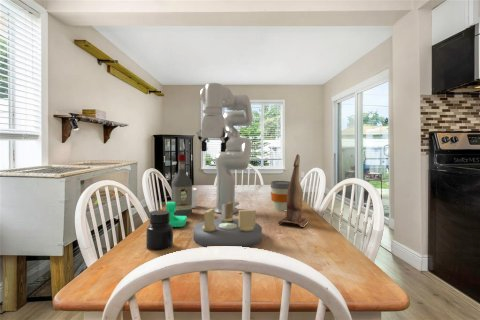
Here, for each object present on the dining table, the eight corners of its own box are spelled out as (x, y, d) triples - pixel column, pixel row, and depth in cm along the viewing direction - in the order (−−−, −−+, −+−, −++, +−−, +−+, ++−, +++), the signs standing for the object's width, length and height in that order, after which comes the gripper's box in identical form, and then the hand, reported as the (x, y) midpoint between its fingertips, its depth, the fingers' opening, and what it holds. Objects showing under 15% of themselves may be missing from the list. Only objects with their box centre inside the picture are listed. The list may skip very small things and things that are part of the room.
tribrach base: (222, 224, 132) (222, 198, 132) (273, 235, 117) (274, 207, 117) (178, 239, 111) (179, 209, 110) (234, 255, 96) (235, 220, 96)
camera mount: (182, 229, 125) (182, 205, 124) (164, 228, 125) (164, 204, 124) (187, 221, 137) (187, 199, 136) (170, 221, 137) (170, 199, 136)
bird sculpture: (277, 226, 131) (279, 154, 128) (285, 219, 142) (287, 152, 139) (302, 230, 127) (305, 155, 124) (308, 223, 137) (311, 153, 134)
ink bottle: (178, 243, 107) (178, 210, 106) (166, 252, 99) (166, 216, 98) (153, 240, 109) (153, 208, 109) (140, 249, 101) (140, 214, 100)
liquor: (170, 212, 153) (171, 153, 151) (188, 210, 156) (188, 153, 154) (174, 216, 144) (174, 154, 142) (192, 215, 148) (193, 154, 146)
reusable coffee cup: (276, 205, 172) (277, 180, 171) (296, 209, 165) (297, 182, 164) (265, 209, 162) (266, 182, 161) (286, 213, 155) (287, 184, 154)
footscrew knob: (226, 218, 126) (226, 201, 125) (236, 220, 123) (236, 202, 123) (217, 221, 121) (218, 204, 120) (228, 223, 118) (228, 205, 118)
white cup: (199, 205, 169) (199, 188, 168) (193, 208, 161) (193, 190, 161) (187, 204, 171) (187, 187, 171) (180, 207, 164) (180, 189, 163)
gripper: (192, 112, 130) (192, 151, 131) (227, 111, 123) (226, 152, 124) (201, 113, 137) (201, 150, 138) (235, 112, 130) (234, 151, 131)
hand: (213, 151), depth 131 cm, fingers open, 9 cm apart
